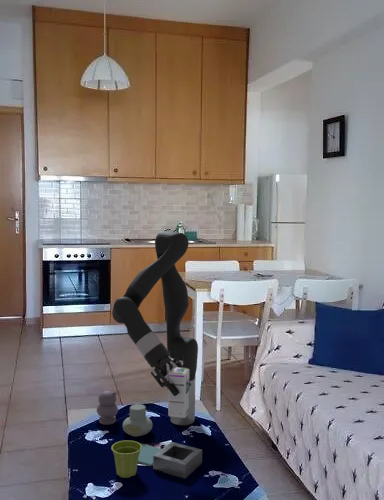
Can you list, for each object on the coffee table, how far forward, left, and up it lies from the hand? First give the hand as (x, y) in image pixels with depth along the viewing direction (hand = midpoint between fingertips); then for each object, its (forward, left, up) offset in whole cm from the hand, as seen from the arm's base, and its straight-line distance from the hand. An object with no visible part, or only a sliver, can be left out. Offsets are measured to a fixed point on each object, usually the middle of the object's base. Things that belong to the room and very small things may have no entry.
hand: (183, 390), depth 172 cm
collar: (0, -1, -25) cm, 25 cm away
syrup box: (0, -2, -8) cm, 8 cm away
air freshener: (-14, -26, -26) cm, 39 cm away
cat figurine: (-17, -42, -26) cm, 52 cm away
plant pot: (+12, -13, -26) cm, 31 cm away
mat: (-1, -14, -25) cm, 29 cm away
